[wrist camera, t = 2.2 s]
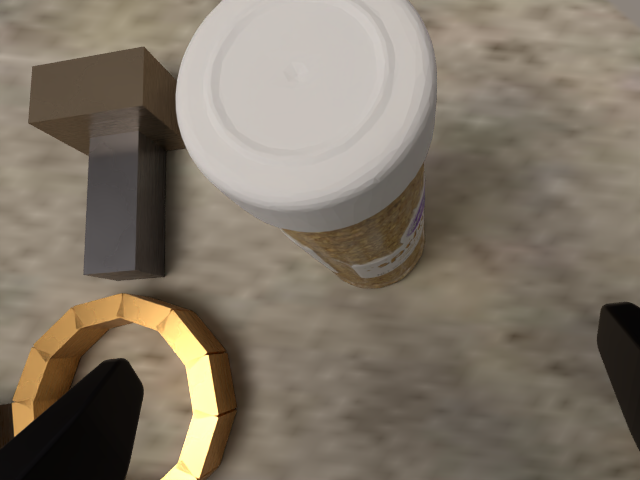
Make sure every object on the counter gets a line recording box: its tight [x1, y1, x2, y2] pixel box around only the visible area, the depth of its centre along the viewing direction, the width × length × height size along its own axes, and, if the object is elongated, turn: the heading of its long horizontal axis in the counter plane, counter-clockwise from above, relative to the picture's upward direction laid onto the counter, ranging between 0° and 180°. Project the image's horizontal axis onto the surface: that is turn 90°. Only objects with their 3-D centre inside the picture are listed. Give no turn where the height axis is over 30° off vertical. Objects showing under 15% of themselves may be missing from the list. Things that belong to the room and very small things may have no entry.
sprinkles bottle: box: [176, 0, 437, 288], centre depth 14 cm, size 5×5×14 cm
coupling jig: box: [0, 47, 237, 480], centre depth 20 cm, size 17×25×4 cm
